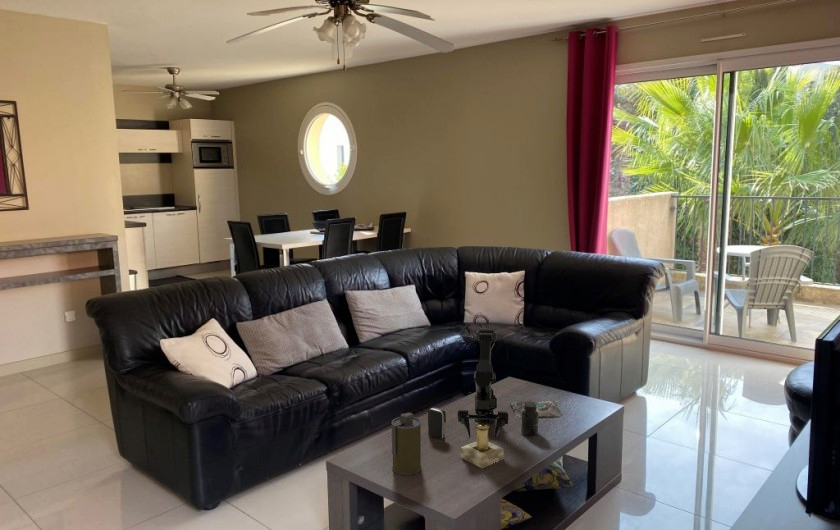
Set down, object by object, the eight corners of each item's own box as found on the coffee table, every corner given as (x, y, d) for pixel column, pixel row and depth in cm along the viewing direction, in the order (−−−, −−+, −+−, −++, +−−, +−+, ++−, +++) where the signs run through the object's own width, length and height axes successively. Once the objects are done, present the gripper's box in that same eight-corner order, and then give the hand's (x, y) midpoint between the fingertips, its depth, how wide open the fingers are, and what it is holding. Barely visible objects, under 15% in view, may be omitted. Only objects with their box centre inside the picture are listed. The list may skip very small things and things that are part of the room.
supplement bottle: (538, 437, 242) (538, 408, 240) (520, 436, 243) (521, 407, 242) (538, 430, 249) (539, 402, 247) (521, 429, 250) (521, 401, 248)
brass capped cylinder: (472, 458, 225) (472, 424, 223) (482, 453, 228) (482, 420, 226) (482, 463, 221) (482, 429, 219) (492, 458, 225) (492, 425, 223)
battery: (447, 436, 243) (447, 409, 242) (441, 440, 240) (441, 412, 239) (433, 432, 248) (433, 405, 246) (427, 435, 245) (427, 408, 243)
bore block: (460, 457, 226) (461, 447, 225) (482, 448, 233) (482, 438, 232) (482, 468, 217) (482, 457, 217) (503, 459, 224) (503, 448, 224)
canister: (409, 458, 225) (408, 406, 222) (427, 469, 217) (427, 415, 214) (385, 467, 218) (384, 414, 215) (403, 478, 210) (402, 423, 207)
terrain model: (516, 419, 261) (516, 412, 261) (509, 406, 276) (510, 399, 275) (563, 418, 262) (563, 411, 261) (554, 405, 277) (554, 398, 276)
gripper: (457, 388, 227) (455, 429, 218) (508, 390, 225) (508, 431, 216) (459, 401, 236) (457, 440, 227) (508, 403, 234) (508, 443, 224)
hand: (482, 439), depth 223 cm, fingers open, 9 cm apart
